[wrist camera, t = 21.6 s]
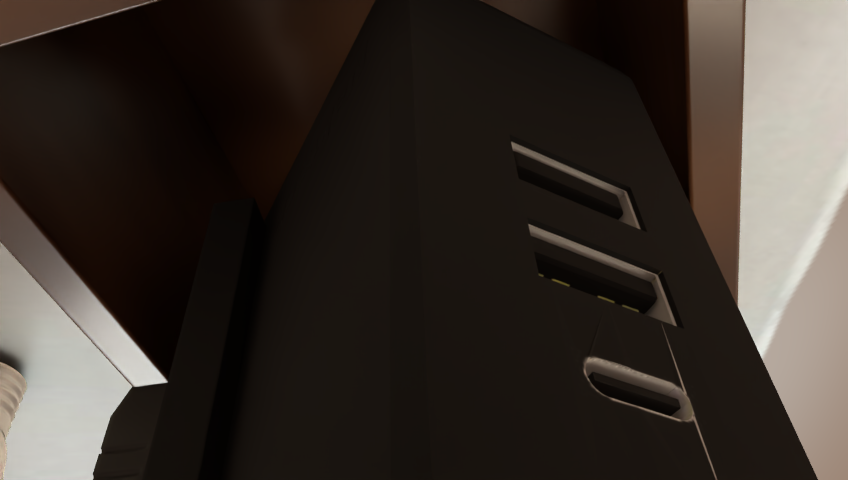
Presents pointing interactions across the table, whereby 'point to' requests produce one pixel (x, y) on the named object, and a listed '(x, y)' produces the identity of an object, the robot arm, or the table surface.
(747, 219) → the table surface
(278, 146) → the chest
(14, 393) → the lightbulb
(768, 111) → the table surface
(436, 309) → the electronic device
